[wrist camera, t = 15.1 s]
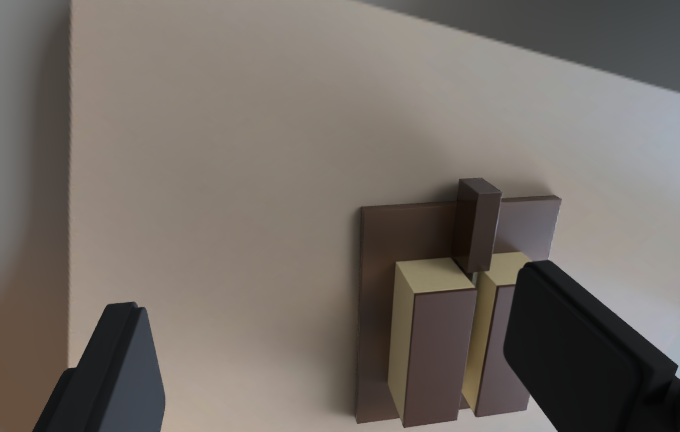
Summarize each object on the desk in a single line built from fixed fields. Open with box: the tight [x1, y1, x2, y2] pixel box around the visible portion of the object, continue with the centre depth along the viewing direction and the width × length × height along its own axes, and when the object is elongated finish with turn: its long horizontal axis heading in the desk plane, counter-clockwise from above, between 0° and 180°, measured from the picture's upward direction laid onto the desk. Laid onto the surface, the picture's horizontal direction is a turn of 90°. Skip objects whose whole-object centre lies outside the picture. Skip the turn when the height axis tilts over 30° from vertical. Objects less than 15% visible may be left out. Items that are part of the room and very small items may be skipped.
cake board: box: [355, 195, 562, 424], centre depth 43 cm, size 24×18×1 cm
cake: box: [388, 252, 532, 428], centre depth 40 cm, size 14×12×5 cm
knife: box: [451, 178, 502, 288], centre depth 39 cm, size 15×2×4 cm, turn 0°
